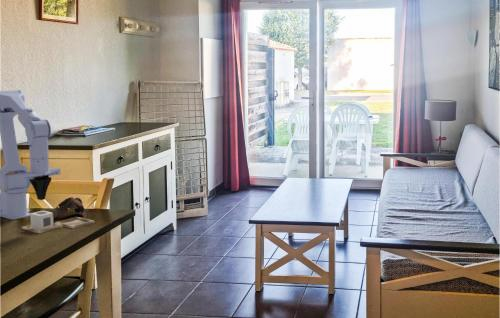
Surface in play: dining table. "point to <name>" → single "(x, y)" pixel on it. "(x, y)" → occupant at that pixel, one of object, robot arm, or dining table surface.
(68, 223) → the tray far
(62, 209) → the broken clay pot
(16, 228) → the dining table surface
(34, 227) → the white marked cube
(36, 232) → the tray near
